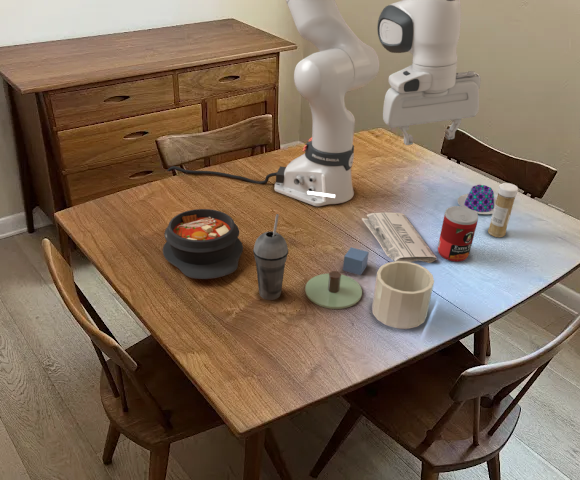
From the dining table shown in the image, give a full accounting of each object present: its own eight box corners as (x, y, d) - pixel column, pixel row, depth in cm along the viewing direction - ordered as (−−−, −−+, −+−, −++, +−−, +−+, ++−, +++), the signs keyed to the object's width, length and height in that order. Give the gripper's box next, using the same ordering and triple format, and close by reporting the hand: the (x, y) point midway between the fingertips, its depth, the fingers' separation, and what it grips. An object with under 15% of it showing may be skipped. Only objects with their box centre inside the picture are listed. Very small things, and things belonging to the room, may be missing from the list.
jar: (364, 320, 126) (369, 283, 120) (381, 291, 134) (387, 255, 129) (417, 336, 122) (425, 299, 117) (431, 306, 131) (439, 269, 125)
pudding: (499, 220, 163) (503, 202, 160) (454, 211, 166) (458, 194, 162) (502, 200, 172) (506, 183, 169) (459, 192, 175) (463, 176, 172)
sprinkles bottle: (508, 235, 157) (522, 188, 148) (496, 239, 154) (509, 192, 146) (495, 227, 160) (508, 180, 151) (483, 231, 157) (495, 184, 149)
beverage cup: (252, 285, 134) (252, 205, 122) (285, 285, 135) (288, 205, 123) (253, 306, 128) (253, 223, 116) (287, 305, 129) (291, 223, 117)
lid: (295, 301, 130) (296, 281, 127) (318, 272, 139) (319, 253, 136) (349, 317, 126) (352, 297, 123) (369, 286, 136) (371, 267, 133)
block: (342, 272, 140) (344, 256, 137) (349, 262, 143) (350, 246, 140) (360, 277, 138) (362, 261, 136) (366, 267, 142) (368, 251, 139)
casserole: (156, 233, 150) (152, 203, 145) (230, 224, 155) (229, 194, 150) (172, 291, 131) (168, 259, 126) (255, 278, 136) (255, 247, 131)
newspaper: (359, 220, 159) (361, 212, 158) (402, 221, 163) (404, 212, 161) (388, 267, 142) (391, 258, 140) (436, 267, 145) (438, 258, 143)
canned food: (450, 265, 144) (459, 225, 137) (430, 248, 150) (438, 209, 143) (475, 258, 147) (485, 218, 140) (454, 242, 153) (463, 203, 146)
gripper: (474, 65, 127) (467, 130, 135) (381, 77, 124) (379, 142, 132) (488, 74, 122) (480, 140, 130) (391, 86, 119) (389, 152, 127)
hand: (428, 141), depth 131 cm, fingers open, 8 cm apart
